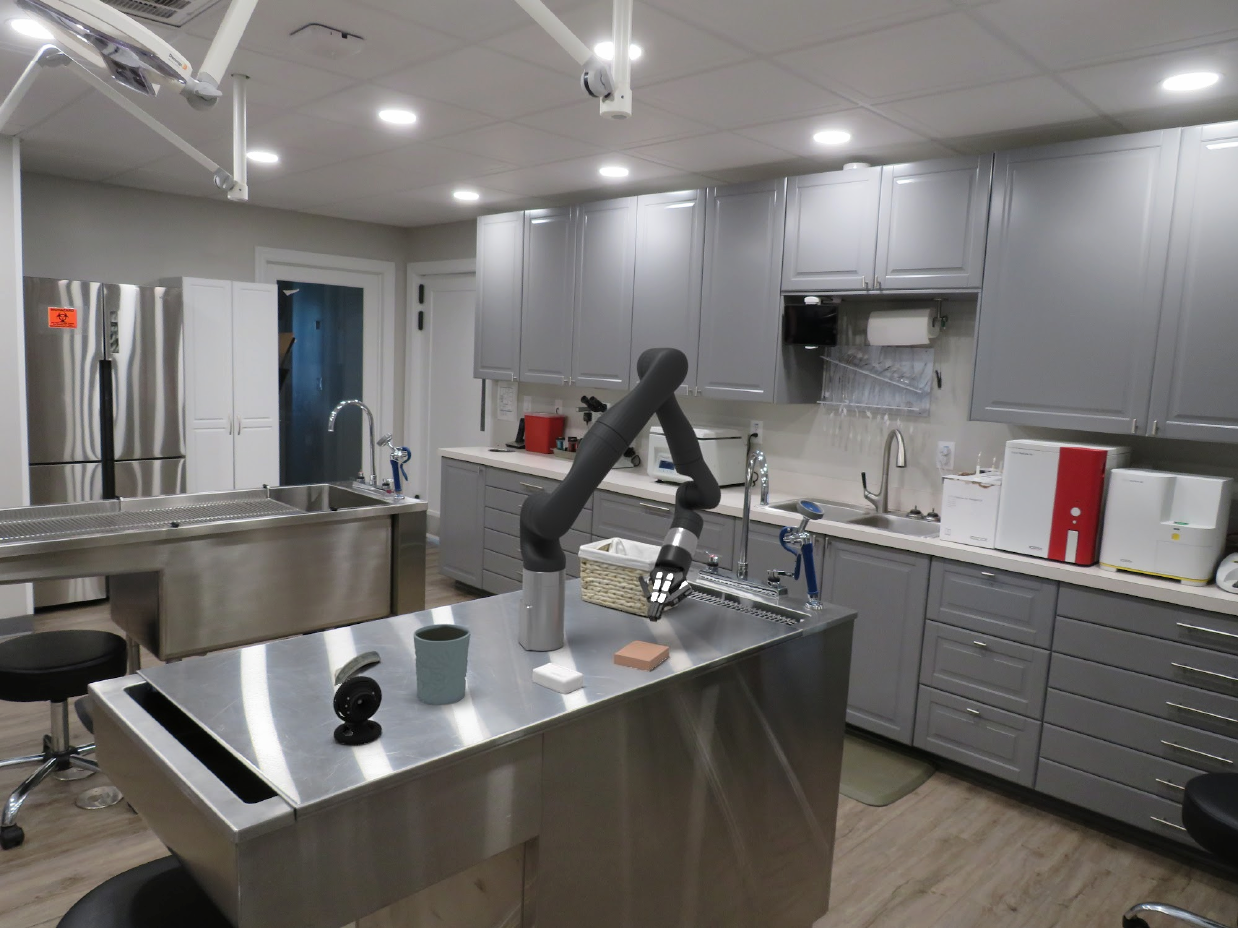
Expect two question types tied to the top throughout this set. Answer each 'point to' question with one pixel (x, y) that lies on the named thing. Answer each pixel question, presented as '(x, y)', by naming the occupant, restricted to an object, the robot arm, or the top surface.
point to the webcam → (357, 710)
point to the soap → (558, 678)
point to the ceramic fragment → (355, 665)
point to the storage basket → (617, 573)
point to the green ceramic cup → (441, 663)
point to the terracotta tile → (641, 655)
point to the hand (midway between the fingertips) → (652, 619)
